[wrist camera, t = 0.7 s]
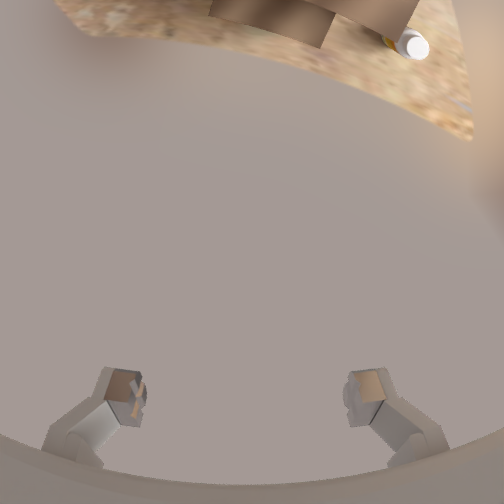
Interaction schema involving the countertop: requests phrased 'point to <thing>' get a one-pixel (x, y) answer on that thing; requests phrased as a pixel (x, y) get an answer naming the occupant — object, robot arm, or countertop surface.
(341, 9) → the stand
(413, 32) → the supplement bottle
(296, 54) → the countertop surface
